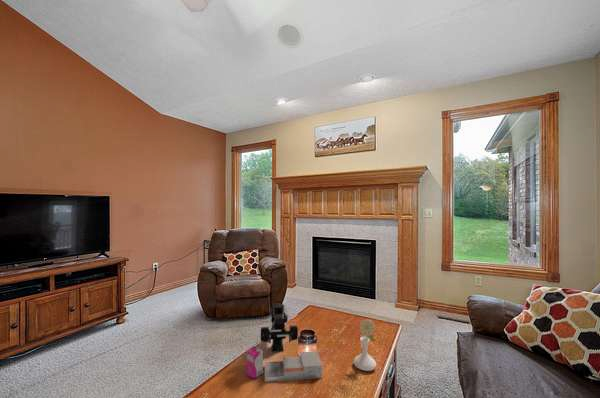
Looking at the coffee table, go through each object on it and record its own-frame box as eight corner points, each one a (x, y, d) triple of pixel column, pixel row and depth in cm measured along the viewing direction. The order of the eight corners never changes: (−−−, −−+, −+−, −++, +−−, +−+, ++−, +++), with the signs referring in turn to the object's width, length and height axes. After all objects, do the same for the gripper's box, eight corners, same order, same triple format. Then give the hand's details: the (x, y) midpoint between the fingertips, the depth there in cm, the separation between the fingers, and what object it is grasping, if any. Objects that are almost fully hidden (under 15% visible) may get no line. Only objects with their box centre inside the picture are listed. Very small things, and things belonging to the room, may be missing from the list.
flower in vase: (349, 362, 137) (349, 314, 138) (366, 358, 142) (367, 311, 142) (364, 377, 125) (364, 324, 126) (383, 372, 130) (383, 321, 130)
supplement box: (254, 369, 131) (255, 345, 131) (263, 374, 127) (263, 350, 127) (245, 374, 126) (246, 350, 126) (253, 380, 122) (254, 355, 123)
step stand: (264, 366, 133) (265, 354, 133) (317, 363, 136) (317, 351, 137) (264, 381, 121) (264, 368, 121) (322, 378, 124) (322, 365, 125)
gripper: (261, 312, 140) (260, 325, 124) (296, 310, 142) (299, 323, 126) (261, 333, 139) (260, 349, 124) (295, 331, 142) (299, 347, 126)
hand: (280, 341), depth 125 cm, fingers open, 9 cm apart
